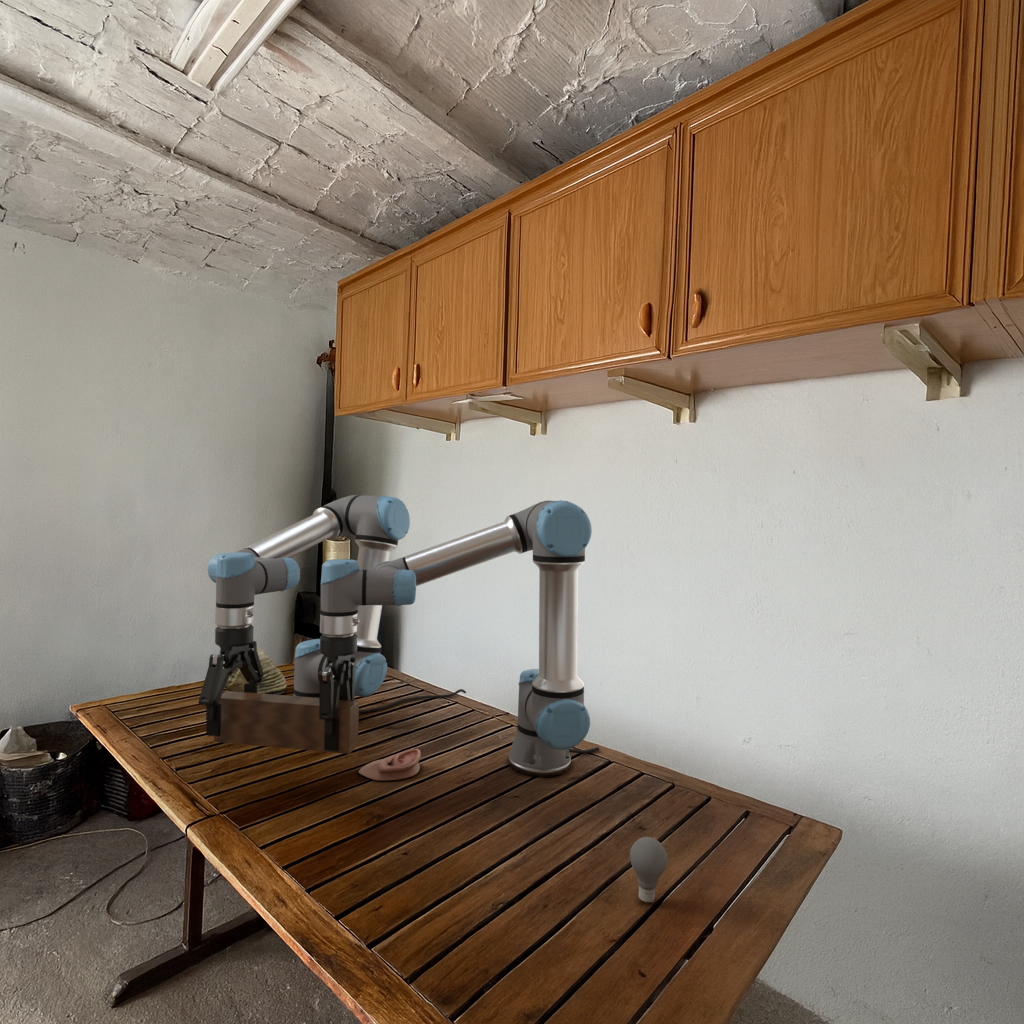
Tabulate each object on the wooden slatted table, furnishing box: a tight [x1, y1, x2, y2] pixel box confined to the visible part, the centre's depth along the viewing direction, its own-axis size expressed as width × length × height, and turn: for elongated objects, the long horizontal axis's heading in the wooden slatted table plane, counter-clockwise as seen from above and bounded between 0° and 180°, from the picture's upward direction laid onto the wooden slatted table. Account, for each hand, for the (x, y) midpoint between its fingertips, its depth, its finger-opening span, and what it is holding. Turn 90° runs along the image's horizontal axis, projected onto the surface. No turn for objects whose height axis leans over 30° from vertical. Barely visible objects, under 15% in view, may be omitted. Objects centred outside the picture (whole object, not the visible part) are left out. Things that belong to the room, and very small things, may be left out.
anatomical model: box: [358, 748, 422, 782], centre depth 147 cm, size 13×4×12 cm
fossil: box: [224, 647, 288, 695], centre depth 198 cm, size 9×18×15 cm, turn 132°
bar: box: [213, 690, 360, 755], centre depth 134 cm, size 30×5×10 cm, turn 81°
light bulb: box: [629, 836, 668, 903], centre depth 103 cm, size 6×6×10 cm
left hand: (232, 723), depth 136 cm, fingers open, 13 cm apart
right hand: (336, 744), depth 132 cm, fingers closed on bar, 5 cm apart
